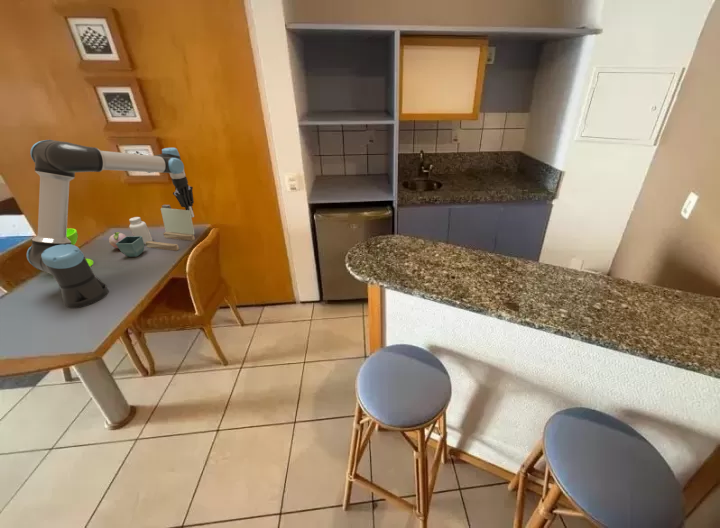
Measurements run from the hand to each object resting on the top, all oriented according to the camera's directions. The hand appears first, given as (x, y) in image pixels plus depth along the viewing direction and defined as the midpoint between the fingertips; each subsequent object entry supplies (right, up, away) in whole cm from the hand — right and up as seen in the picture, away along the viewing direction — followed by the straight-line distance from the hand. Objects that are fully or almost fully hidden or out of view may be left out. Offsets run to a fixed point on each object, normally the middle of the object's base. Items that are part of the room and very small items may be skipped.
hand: (191, 216), depth 184 cm
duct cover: (-6, -3, -5) cm, 8 cm away
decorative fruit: (-33, -20, -11) cm, 40 cm away
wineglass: (-45, -30, -28) cm, 61 cm away
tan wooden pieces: (-7, -15, -5) cm, 17 cm away
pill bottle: (-24, -16, -5) cm, 30 cm away
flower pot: (-21, -23, -18) cm, 36 cm away
